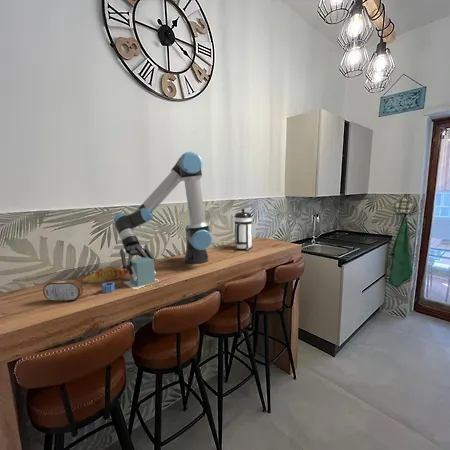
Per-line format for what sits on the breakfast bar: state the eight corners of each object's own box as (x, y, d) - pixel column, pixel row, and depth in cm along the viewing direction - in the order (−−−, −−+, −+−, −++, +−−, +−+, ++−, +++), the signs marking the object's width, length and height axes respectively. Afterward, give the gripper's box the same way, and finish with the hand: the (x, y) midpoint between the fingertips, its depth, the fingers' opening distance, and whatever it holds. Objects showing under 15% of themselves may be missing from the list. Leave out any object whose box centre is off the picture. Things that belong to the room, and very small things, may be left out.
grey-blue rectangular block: (147, 277, 133) (145, 256, 131) (155, 282, 126) (153, 259, 125) (130, 282, 127) (128, 260, 125) (138, 286, 121) (136, 263, 119)
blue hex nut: (114, 288, 120) (114, 281, 119) (114, 292, 115) (114, 285, 115) (102, 290, 118) (102, 283, 117) (102, 294, 113) (101, 286, 113)
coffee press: (229, 248, 199) (228, 208, 195) (248, 246, 204) (248, 207, 200) (237, 253, 183) (236, 210, 179) (258, 251, 187) (258, 209, 183)
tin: (84, 298, 110) (82, 278, 109) (80, 301, 107) (78, 281, 106) (47, 299, 110) (45, 280, 108) (42, 302, 106) (40, 282, 105)
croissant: (84, 292, 125) (84, 280, 121) (80, 278, 132) (80, 266, 128) (129, 281, 138) (130, 270, 134) (124, 269, 144) (124, 258, 140)
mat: (149, 276, 136) (149, 275, 136) (163, 282, 126) (163, 282, 126) (122, 283, 127) (122, 282, 127) (135, 290, 117) (134, 289, 117)
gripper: (147, 241, 143) (163, 275, 133) (106, 247, 129) (121, 286, 119) (151, 232, 138) (168, 267, 129) (109, 238, 124) (124, 278, 114)
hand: (145, 277), depth 124 cm, fingers closed on grey-blue rectangular block, 9 cm apart
